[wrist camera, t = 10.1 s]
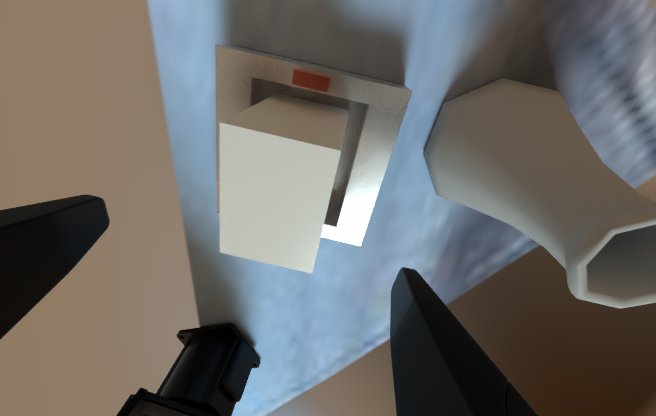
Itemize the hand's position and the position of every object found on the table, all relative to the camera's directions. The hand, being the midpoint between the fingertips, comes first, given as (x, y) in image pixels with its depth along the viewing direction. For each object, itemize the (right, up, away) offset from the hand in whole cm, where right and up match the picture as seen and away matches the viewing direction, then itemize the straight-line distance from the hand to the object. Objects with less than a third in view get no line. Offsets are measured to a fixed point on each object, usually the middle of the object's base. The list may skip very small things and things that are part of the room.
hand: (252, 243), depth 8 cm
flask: (+11, +5, +8) cm, 14 cm away
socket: (+1, +5, +8) cm, 10 cm away
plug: (+1, +5, +8) cm, 9 cm away
